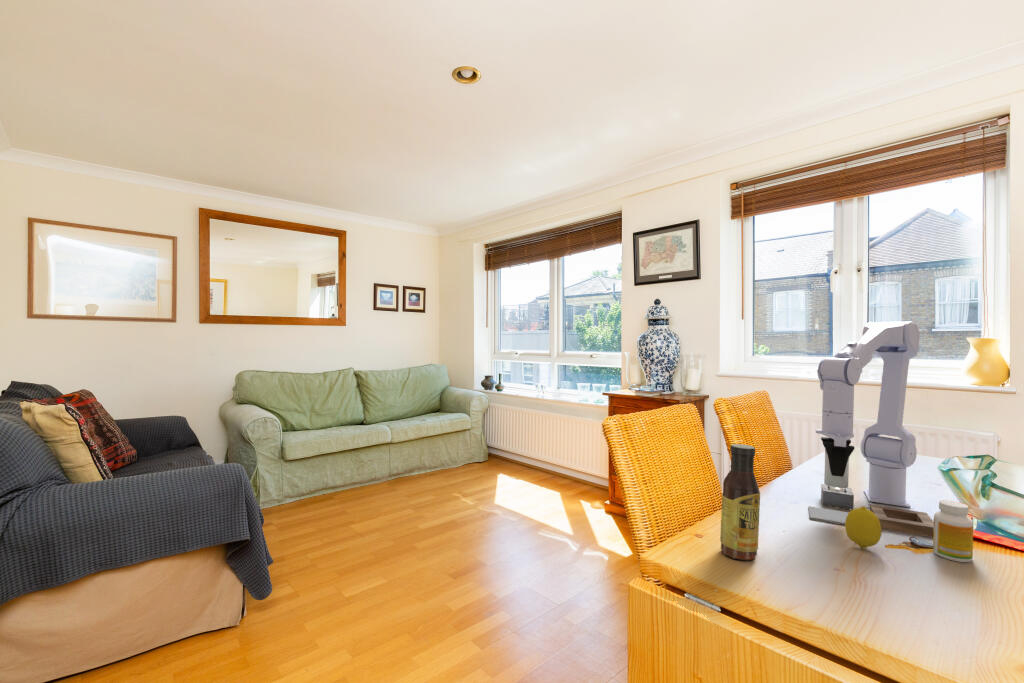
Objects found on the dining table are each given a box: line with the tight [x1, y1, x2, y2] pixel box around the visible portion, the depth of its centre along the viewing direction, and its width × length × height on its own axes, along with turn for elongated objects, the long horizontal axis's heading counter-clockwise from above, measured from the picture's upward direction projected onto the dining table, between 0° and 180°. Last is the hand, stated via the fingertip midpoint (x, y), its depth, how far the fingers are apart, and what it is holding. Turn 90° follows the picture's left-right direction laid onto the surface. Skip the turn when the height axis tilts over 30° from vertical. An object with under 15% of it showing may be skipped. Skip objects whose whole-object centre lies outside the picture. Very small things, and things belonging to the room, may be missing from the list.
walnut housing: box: [869, 503, 934, 538], centre depth 103 cm, size 10×10×2 cm
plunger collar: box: [820, 484, 855, 511], centre depth 115 cm, size 6×6×4 cm
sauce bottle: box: [719, 443, 761, 561], centre depth 88 cm, size 7×6×20 cm
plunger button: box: [830, 486, 845, 493], centre depth 115 cm, size 3×3×3 cm
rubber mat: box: [808, 505, 849, 526], centre depth 107 cm, size 8×8×1 cm
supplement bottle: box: [932, 500, 974, 563], centre depth 88 cm, size 5×5×10 cm
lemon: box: [844, 505, 882, 550], centre depth 91 cm, size 6×6×8 cm
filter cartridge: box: [823, 448, 850, 488], centre depth 106 cm, size 4×4×8 cm
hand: (836, 473), depth 106 cm, fingers closed on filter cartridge, 4 cm apart
